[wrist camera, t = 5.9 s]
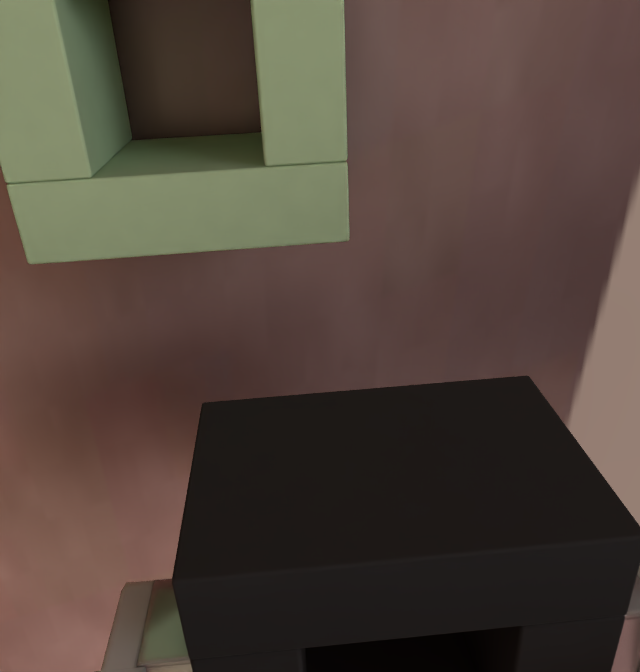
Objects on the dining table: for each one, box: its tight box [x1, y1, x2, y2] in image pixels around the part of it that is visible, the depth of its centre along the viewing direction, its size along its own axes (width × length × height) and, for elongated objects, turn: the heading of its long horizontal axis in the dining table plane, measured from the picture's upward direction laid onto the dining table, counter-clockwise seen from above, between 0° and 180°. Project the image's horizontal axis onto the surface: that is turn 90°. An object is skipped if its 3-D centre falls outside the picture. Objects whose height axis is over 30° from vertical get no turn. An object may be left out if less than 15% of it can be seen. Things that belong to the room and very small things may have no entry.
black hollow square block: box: [172, 376, 640, 672], centre depth 11 cm, size 6×6×4 cm
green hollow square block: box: [0, 0, 350, 264], centre depth 12 cm, size 6×6×4 cm
